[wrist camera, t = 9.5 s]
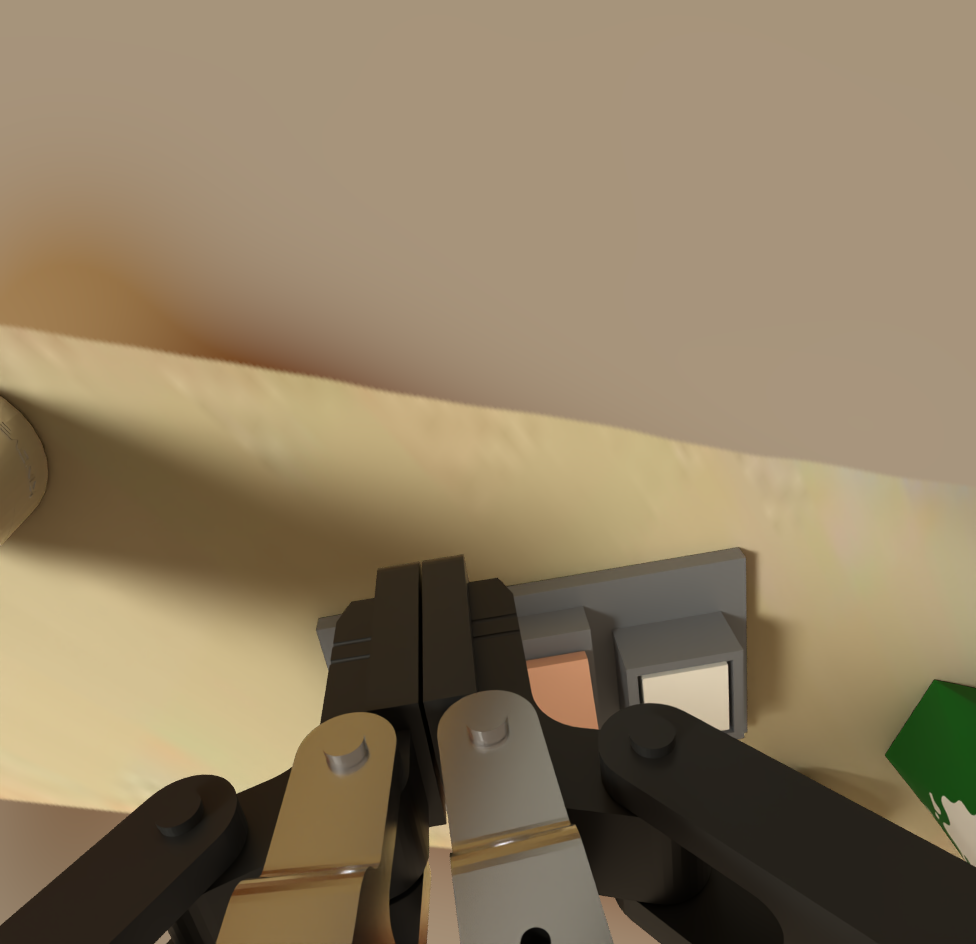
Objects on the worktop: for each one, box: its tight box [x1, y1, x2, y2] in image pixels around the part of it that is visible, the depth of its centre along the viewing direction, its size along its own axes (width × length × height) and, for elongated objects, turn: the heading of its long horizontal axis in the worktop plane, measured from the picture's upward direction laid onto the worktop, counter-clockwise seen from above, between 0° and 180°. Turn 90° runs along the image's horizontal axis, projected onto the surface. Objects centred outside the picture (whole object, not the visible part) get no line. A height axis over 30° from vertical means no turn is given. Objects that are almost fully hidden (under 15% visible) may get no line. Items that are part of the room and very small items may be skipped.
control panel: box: [316, 547, 747, 739], centre depth 49 cm, size 26×14×5 cm, turn 99°
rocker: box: [526, 651, 598, 729], centre depth 47 cm, size 5×9×2 cm, turn 9°
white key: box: [637, 661, 729, 731], centre depth 48 cm, size 5×5×4 cm
